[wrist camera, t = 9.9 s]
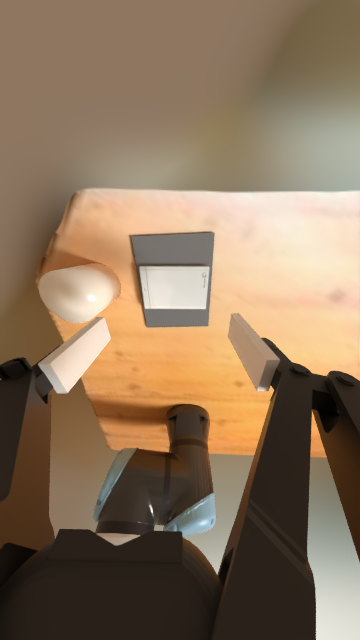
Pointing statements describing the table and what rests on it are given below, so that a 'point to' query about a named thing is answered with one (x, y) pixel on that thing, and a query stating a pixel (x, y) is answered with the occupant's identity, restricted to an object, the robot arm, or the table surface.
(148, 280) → the hard drive
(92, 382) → the table surface
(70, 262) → the table surface
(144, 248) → the mat
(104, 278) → the cream rounded cylinder
